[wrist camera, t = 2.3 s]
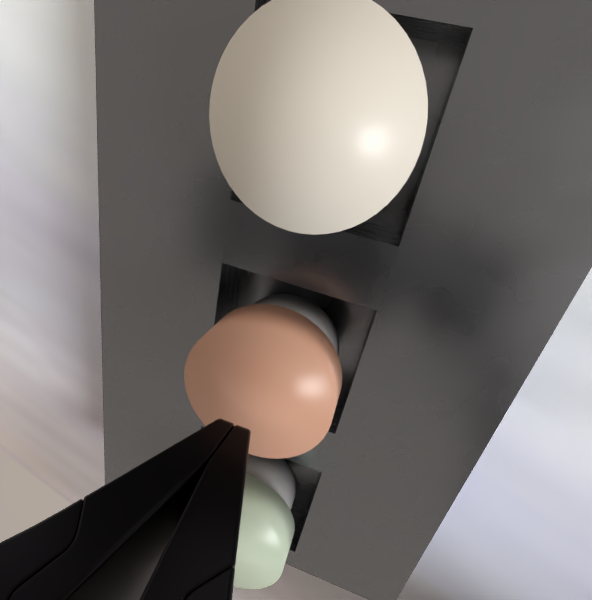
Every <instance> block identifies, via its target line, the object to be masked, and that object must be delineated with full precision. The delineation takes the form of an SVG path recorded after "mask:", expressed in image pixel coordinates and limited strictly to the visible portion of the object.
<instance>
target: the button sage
mask: <svg viewBox="0 0 592 600" xmlns="http://www.w3.org/2000/svg"><path fill="white" fill-rule="evenodd" d="M296 492H297V479H296V476H295V474H294V472H293V470H292V468H291V467H290V466H289V464H288V463H287V462H286V461H285V460H284V459H283V458H281V459H273V458H263V457H258V456H254V455H251V454H248V461H247V470H246V478H245V487H244V495H243V504H242V513H241V521H240V530H239V539H238V547H237V556H236V564H235V575H234V583H233V587H236V588H241V589H261V588H265V587H268V586H270V585H272V584H274V583H275V582H276V581H278V579H279V578H280V577H281V574H282V572H283V569H284V566H285V562H286V559H287V556H288V552H289V549H290V546H291V542H292V539H293V536H294V531H295V523H294V518H293V515H292V513H291V508H292V504H293V501H294V498H295V495H296Z"/></svg>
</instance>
